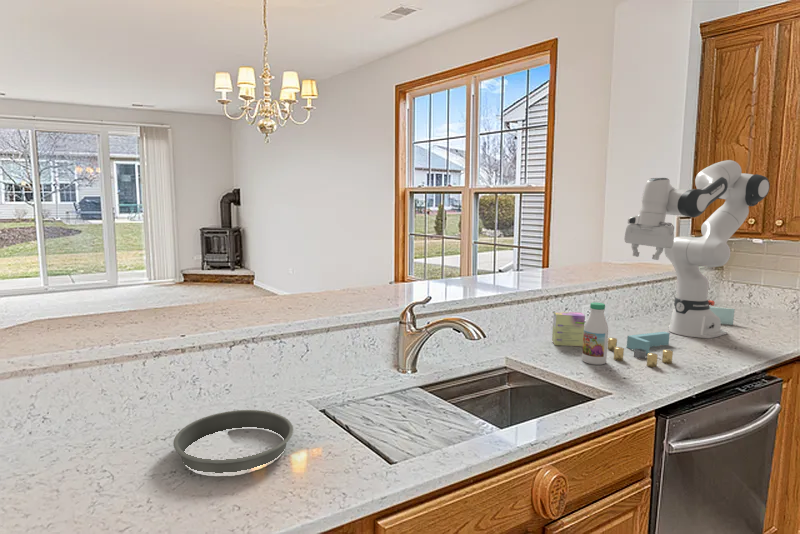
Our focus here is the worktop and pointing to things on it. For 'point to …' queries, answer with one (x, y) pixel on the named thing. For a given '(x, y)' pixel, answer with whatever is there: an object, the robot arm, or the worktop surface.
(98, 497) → the worktop surface
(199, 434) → the dark grey ring
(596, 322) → the milk bottle
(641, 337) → the hook tool
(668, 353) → the brass spacers
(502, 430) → the worktop surface
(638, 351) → the nut
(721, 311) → the l-shaped corner panel
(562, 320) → the box
